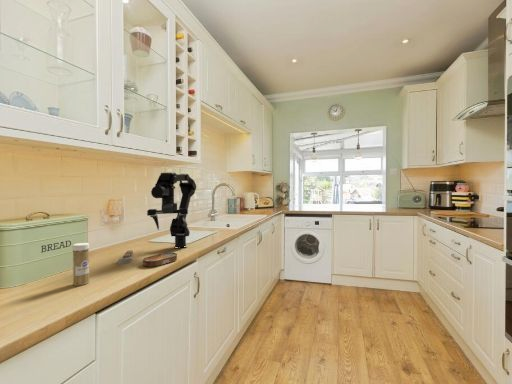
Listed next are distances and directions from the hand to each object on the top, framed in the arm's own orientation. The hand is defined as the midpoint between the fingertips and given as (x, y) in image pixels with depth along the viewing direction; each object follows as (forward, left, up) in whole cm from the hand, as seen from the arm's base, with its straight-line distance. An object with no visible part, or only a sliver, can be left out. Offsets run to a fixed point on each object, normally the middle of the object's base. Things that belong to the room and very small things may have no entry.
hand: (168, 229), depth 125 cm
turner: (+4, -18, -12) cm, 22 cm away
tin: (+13, -5, -11) cm, 18 cm away
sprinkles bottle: (+34, -27, -12) cm, 45 cm away
